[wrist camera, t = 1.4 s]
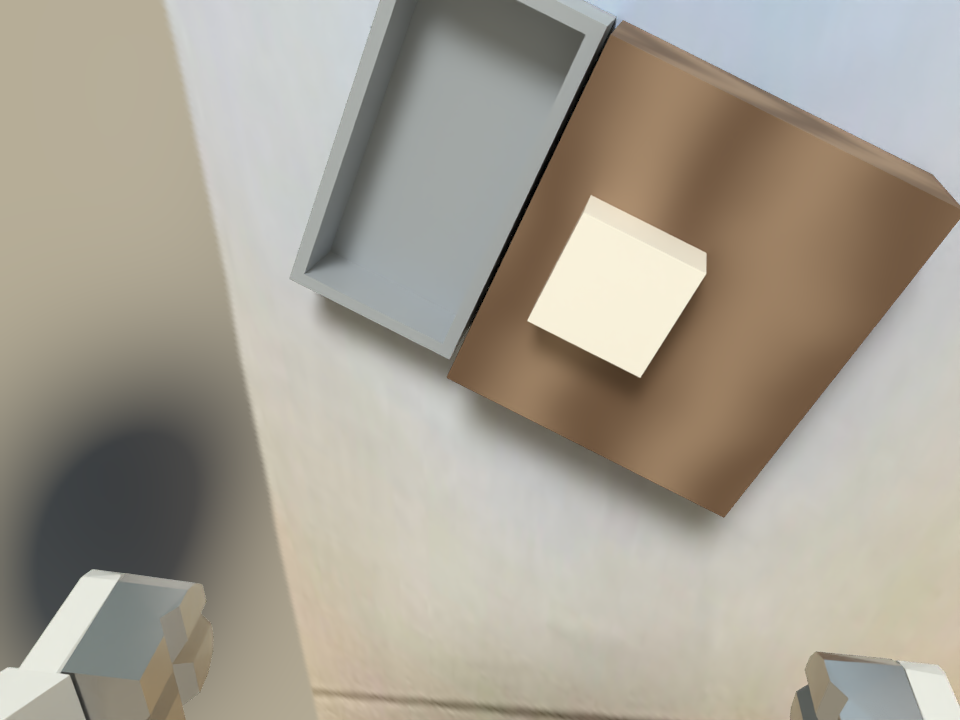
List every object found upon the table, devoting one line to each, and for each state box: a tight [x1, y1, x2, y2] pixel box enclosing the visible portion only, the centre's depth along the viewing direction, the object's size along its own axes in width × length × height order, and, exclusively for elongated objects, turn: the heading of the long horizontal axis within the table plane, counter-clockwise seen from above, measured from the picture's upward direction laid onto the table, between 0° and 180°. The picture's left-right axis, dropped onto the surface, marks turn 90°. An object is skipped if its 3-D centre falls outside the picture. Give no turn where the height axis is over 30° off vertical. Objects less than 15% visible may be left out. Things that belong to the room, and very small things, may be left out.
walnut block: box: [447, 20, 960, 517], centre depth 36 cm, size 14×16×5 cm
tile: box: [527, 195, 706, 378], centre depth 33 cm, size 5×5×2 cm
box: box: [289, 0, 616, 360], centre depth 36 cm, size 8×16×4 cm, turn 157°
